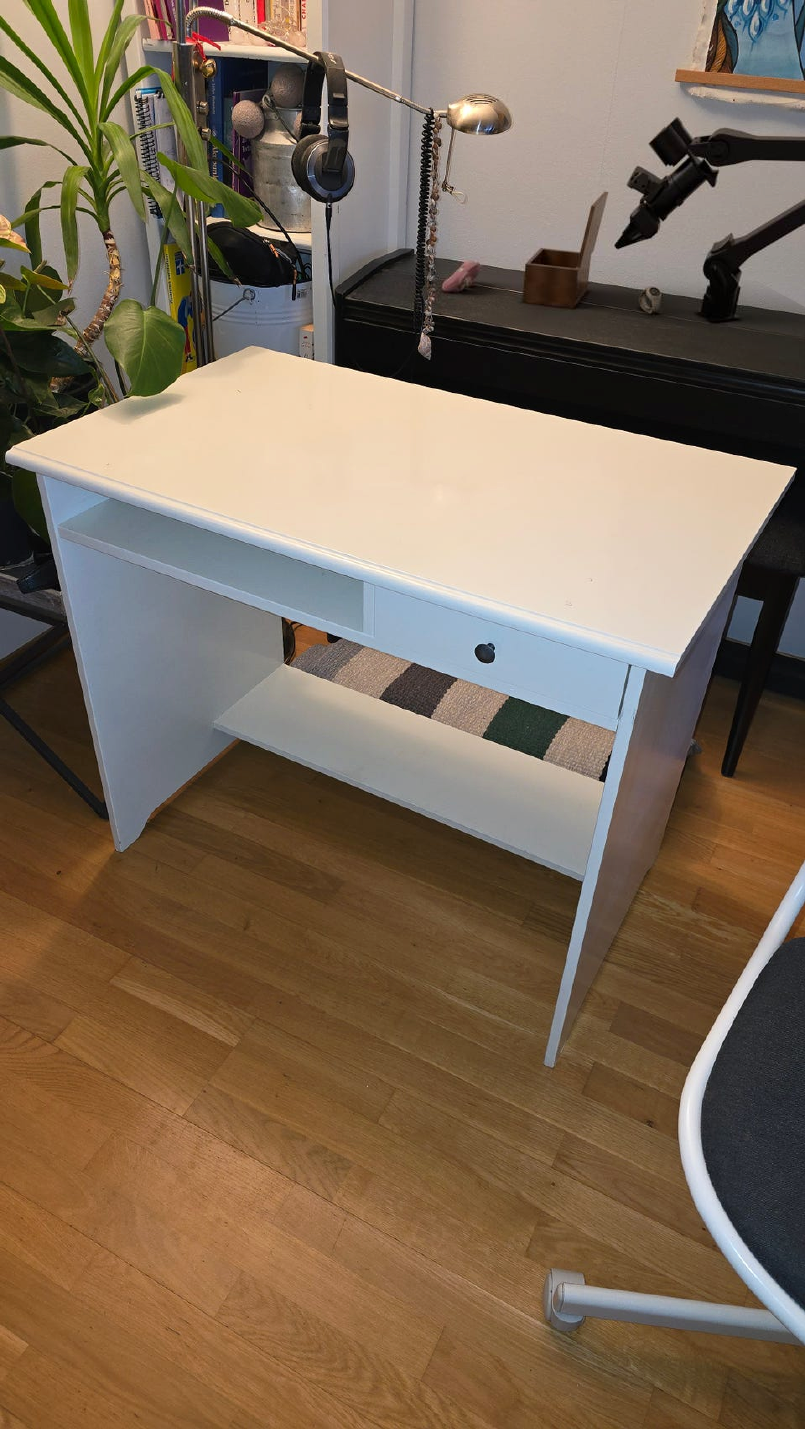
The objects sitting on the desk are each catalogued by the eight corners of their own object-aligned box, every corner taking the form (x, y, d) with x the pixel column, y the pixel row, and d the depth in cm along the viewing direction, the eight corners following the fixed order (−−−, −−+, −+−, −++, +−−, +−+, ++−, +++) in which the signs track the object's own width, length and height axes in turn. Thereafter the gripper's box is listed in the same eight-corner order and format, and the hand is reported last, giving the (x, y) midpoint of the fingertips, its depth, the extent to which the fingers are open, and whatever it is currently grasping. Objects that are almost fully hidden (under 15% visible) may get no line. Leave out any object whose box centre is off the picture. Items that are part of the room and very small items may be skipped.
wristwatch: (648, 316, 211) (652, 292, 208) (634, 306, 216) (637, 283, 212) (662, 314, 212) (667, 290, 209) (648, 305, 216) (651, 281, 213)
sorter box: (522, 302, 218) (525, 264, 213) (537, 284, 227) (540, 247, 222) (573, 308, 215) (577, 270, 209) (587, 290, 224) (591, 253, 218)
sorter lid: (591, 206, 201) (595, 207, 201) (604, 191, 210) (608, 192, 210) (576, 267, 209) (579, 268, 209) (590, 250, 218) (593, 251, 218)
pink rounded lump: (454, 301, 223) (468, 275, 217) (439, 289, 223) (452, 262, 218) (475, 289, 229) (489, 263, 224) (460, 277, 229) (473, 251, 224)
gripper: (661, 143, 202) (603, 200, 213) (647, 162, 189) (586, 222, 199) (695, 186, 205) (635, 240, 216) (683, 209, 192) (621, 265, 202)
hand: (619, 241), depth 208 cm, fingers open, 9 cm apart
